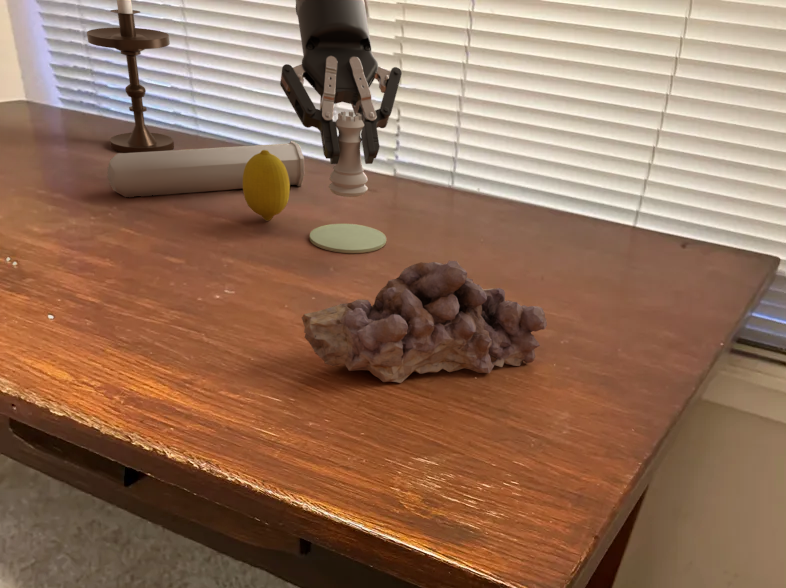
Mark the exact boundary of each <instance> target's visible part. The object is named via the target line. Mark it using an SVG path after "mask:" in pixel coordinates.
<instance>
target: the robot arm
mask: <svg viewBox="0 0 786 588" xmlns="http://www.w3.org/2000/svg"><path fill="white" fill-rule="evenodd" d="M295 14H296V16H297V21H298V27H299V35H300V41H301V48H302V49H301V50H302V54H303V55H302V56H303V57H302V59H301V64H298V65H296V66H293V65H291V64H288V63H287V64H286V63H285V64H284V65H282V68H281V75H280V82H279V85H280V88H281V89H282V91H283V92H284V94H285V95H286V98H287V99H288V101H289V103H290V105H291V106H292V108H293V110H294V112H295V113H296V115H297V117H298V118H299V121H300V122H301V124H302V125H303V127H304V128H308V129H309V128H316V129H317V130H318V131H319V132H320V137H321V144H322V151H323V156H324V157H325V159H327V160H329V163H330V164H331V165H336V164H338V161H339V157H340V149H339V142H338V135H339V134H338V129H337V127H336V121H334V119H333V118H334V109H335V108H334V107H335V104H340V103H345V104H348V105H351V107H352V110H353V114H354V115H355V116H356V113H360V115H361V120H362V121H363V123H364V124H365V125H364V127H363V128H362V130H361V131H360V137H361V139H362V141H361V144H362V151H363V159H364V163H365V164H366V165H372V164H373V163H374V160H375V159H377V156H378V154H379V152H380V151H379V150H380V141H379V134H378V128H380V129H385V128H387V126H388V123H389V119H390V117H391V114H392V111H393V108H394V104H395V101H396V97H397V93H398V89H399V85H400V82H401V77H402V70H401V68H400V67H397V66H394V67H392V68H391V70H389V69H387V68H384V67H382V66H380V65H379V63H378V60H377V59H376V58H375V56H374V54H373V51H372V44H371V43H372V42H371V37H370V30H369V24H368V23H369V22H368V18H367V17H368V16H367V10H366V3H365V0H295ZM305 80H306V82H308V84H309V85H310V86H311V87H312V89H314V91H315V92H316V93H317V94H318V95H319V96H320V98H319V99H320V101H319V108H316V106H315V104H314V102H313V100H312V99H311V98H310V96H309V94H308V91H307V90H306V88H305V87H304V83H305ZM374 80H376V81H377V82H378V88H379V90H380V92H381V94H383V95H382V99H381V103H380V108H378V109H375V107H374V104H373V103H374V102H373V100H372V92H371V89H370V87H371V86H372V84H373V82H374Z"/></svg>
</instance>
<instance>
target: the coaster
mask: <svg viewBox="0 0 786 588" xmlns="http://www.w3.org/2000/svg"><path fill="white" fill-rule="evenodd" d="M386 236H387V235H385V233H383V232H382V231H380V230H379V229H376V228H374V227H371V226H367V225H363V224H356V223H330V224H325V225H321V226H318V227H316V228H314V229H312V230H311V231H310V232H309V241H310V243H312V245H314V246H315V247H318V248H319V249H320V248H321V249H322V250H326V251H328V252H333V253H339V254H340V253H341V254H362V253H364V254H365V253H371V252H375V251H377V250H381V249H382V248H384V246H385V245H386V243H387V237H386Z"/></svg>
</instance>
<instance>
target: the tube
mask: <svg viewBox="0 0 786 588" xmlns="http://www.w3.org/2000/svg"><path fill="white" fill-rule="evenodd" d="M262 150H268V152H269V153H270V154H273V155H275V156H276V157H278V158H279V159H280V160H281V161H282V163H283V164H284V166H285V168H286V170H287V173H288V177H289V183H290V186H291V185H292V186H293V185H295V186H297V187H302V185H303V181H304V178H305V157H304V154H303V151H302V148H301V146H300V144H298V143H297V142H296V141H294V140H290V142H289V143H288V142H287V143H275V144H274V143H273V144H257V145H255V144H254V145H240V146H239V145H238V146H223V147H221V146H220V147H205V148H189V149H172V150H169V151H153V152H136V153H122V152H118V153H116V154H115V155H114V156H113V157H112V158H111V159H110V160H109V163H108V165H107V176H106V177H107V179H108V182H109V184H110V187H111V189H112V191H114V192H116V193H117V194H119V195H120V196H123V197H125V198H126V197H129V198H135V197H134V196H141V197H151V196H152V195H153V196H165V195H178V194H179V195H180V194H190V193H205V192H216V191H217V192H218V191H230V190H241V189H242V190H243V173H244V169H245V166H246V164H247V162H248V161H249V160H250V159H251V158H252V157H253V156H254V155H256V154H258V153H260V152H261V151H262Z"/></svg>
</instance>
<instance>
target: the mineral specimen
mask: <svg viewBox="0 0 786 588" xmlns="http://www.w3.org/2000/svg"><path fill="white" fill-rule="evenodd" d="M473 280H474V279H472V278H470V277H468V271H467V270H466V269H465V268H464V267H462V266H461V264H460V263H459V261H457V260H448V262H447V263H444V264H443V263H442V262H436V261H431V262H418V263H414V264H411V265H409V266H407V267H405V268H404V269H403V270H402V271H401V273H400V274H399V275H398V277H396V278H393V279H389V280H388V281H387V283H386V285H384V286H383V287H382V288H381V289H380V290H379V291H378V293H377V294H376V296H375V299H374V303H373V304H371V302H370V301H369V299H356V300H353V301H352V302H347V303H339V304H336V305H334V306H330V307H328V308H327V307H326V308H323V309H321V310H317V311H312V312H308V313H304V314H303V315H302V316H301V320H302V323H303V326H304V328H303V329H304V330H303V333H304V339H305V340H306V341H307V342H308V343H309V345H310V346H311V348H312V350H313V352H314V353H315V354H316V356H318V358H320V359H321V360H322V361H324V364H325V365H328V366H331V367H334V366H335V367H336V366H339V365H345V367H346V368H347V370H348V371H349V372H351V371H352V372H353V371H369V373H370V374H372V375H373V376H374V377H376V378H378V379H379V380H380V381H382V382H383V383H389V382H393V383H399V384H402V383H403V382H404V381H405V380H407V378H408V377H409V376H410V375H411V374H412V373H414V372H415V373H417V374H420V375H423V374H426V373H438V372H440V371H441V370H445V371H447V372H449V373H452V372H455V371H456V372H457V371H459V370H463V369H466V370H471V371H473V372H476V373H477V374H490V373H491V372H492V371H493V368H494V367H495V366H497V367H499V368H503V366H504V364H506V365H510V366H517V367H520V366H521V365H522V364H523V362H524V363H526V364H531V363H533V362H534V361H535V359H536V354H535V353H536V351H535V349H537V348H538V347H540V346H541V345H540V342H539V341H538V340H537V339H536V336H535V335H534V334H533V333H532V332H538V331H542V330H546V328H547V326H548V321H547V318H546V313H545V311H544V309H543V307H541V306H537V305H530V306H529V305H528V306H527V305H525V304H524V305H521V304H519V303H518V302H517V301H512V300H506V291H505V289H503V288H500V287H496V288H483V287H482V286H481V285H480V284H477V283H475V282H474V281H473ZM491 357H492V358H495V359H496V360H494V361H492V358H491Z"/></svg>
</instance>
